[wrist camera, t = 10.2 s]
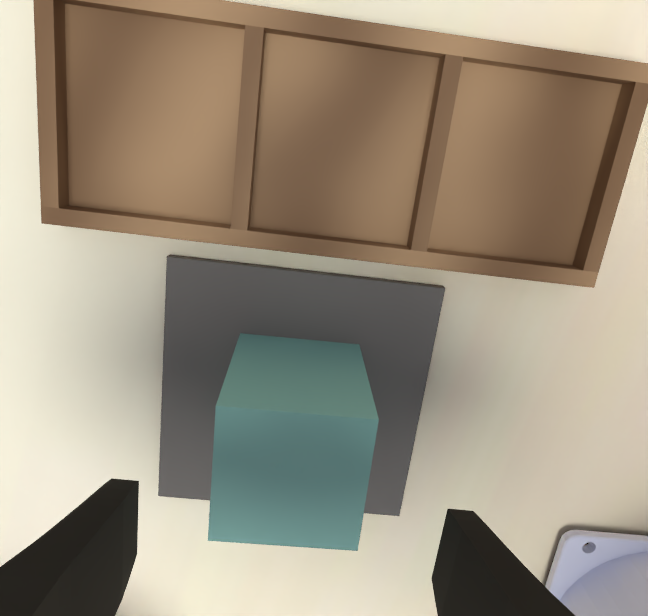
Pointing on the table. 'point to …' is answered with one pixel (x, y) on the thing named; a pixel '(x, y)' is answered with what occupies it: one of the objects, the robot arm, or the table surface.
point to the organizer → (332, 136)
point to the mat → (301, 323)
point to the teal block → (292, 444)
